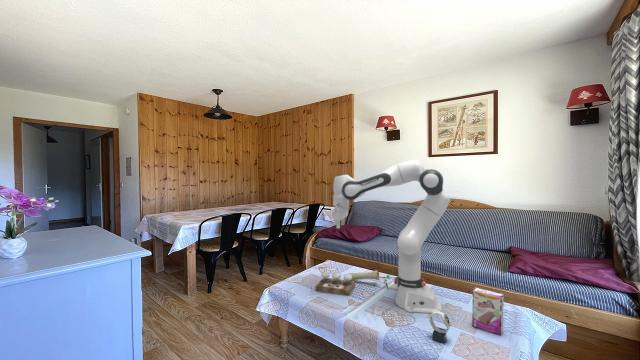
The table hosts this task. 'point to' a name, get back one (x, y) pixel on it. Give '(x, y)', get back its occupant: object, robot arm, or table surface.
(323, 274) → the outer button
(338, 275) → the middle button
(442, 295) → the table surface
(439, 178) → the robot arm
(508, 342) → the table surface
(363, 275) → the flower vase
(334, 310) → the table surface
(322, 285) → the button board
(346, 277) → the inner button
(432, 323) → the watch
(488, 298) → the candy bar box
